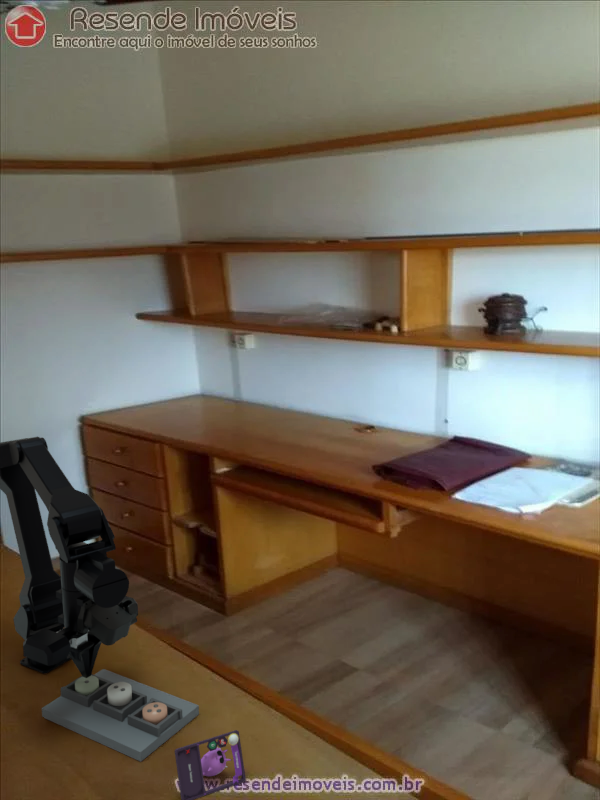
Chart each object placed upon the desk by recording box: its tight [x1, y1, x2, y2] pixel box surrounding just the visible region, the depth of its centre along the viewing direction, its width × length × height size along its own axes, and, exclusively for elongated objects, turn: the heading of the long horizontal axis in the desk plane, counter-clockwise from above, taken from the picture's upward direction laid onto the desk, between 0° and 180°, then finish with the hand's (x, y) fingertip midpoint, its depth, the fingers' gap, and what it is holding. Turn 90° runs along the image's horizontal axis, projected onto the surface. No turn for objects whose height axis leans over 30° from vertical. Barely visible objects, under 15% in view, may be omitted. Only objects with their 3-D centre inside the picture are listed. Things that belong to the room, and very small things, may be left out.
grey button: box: [107, 682, 132, 706], centre depth 120 cm, size 4×4×2 cm
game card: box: [174, 729, 247, 800], centre depth 106 cm, size 7×5×9 cm
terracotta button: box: [142, 702, 167, 725], centre depth 117 cm, size 4×4×2 cm
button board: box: [41, 668, 200, 762], centre depth 121 cm, size 20×13×3 cm, turn 59°
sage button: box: [75, 676, 99, 696], centre depth 124 cm, size 4×4×2 cm
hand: (86, 676), depth 123 cm, fingers closed
